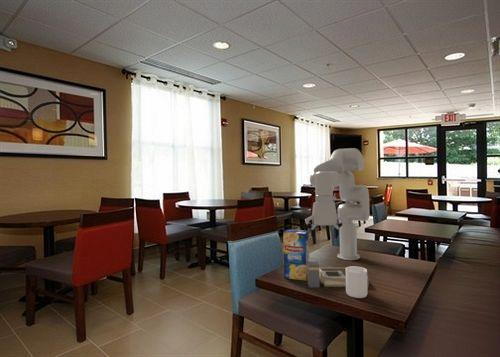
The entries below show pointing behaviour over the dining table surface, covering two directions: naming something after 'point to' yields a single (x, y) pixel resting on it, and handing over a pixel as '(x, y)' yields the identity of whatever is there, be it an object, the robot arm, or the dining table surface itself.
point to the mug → (356, 281)
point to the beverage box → (296, 254)
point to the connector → (313, 274)
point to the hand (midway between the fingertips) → (324, 238)
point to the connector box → (334, 277)
